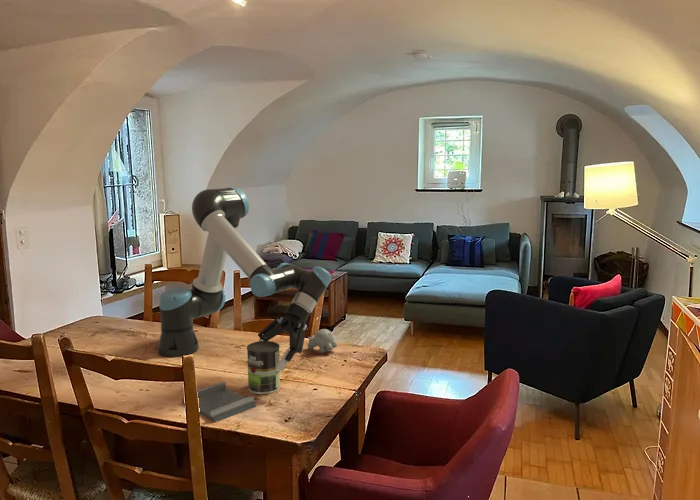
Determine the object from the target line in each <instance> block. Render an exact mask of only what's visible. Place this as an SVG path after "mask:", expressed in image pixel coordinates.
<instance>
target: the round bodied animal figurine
mask: <svg viewBox="0 0 700 500" xmlns="http://www.w3.org/2000/svg"><path fill="white" fill-rule="evenodd" d="M307 338H308V341H306V345H307V346H306V347H307V349H308V350H314V349H315V347H316V348H317V347H318V348H319V353H320V354H324V353H327V352H331V351H332V350H334V349H335V348H337V346H338V343H337V341H336V340H335V338H334V335H333V333H332V331H331V330H329V329H327V328H321V329H319V330H317V332H316V333H315V335H314V334H311V337H310V336H307Z"/></svg>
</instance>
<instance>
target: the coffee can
mask: <svg viewBox="0 0 700 500" xmlns="http://www.w3.org/2000/svg"><path fill="white" fill-rule="evenodd" d="M280 347H281V346H280V343H277V342H275V341H270V340H268V341H259V340H258V341H255V342H252V343H249V344H248V345H247V346H246V351H247V377H248V378H247V382H248V385H247V386H248V391H249V392H250V393H251V394H255V395H268V394H274V393H275V392H278V391H279V389H280V388H281V384H280V382H281V381H280V379H281V377H280V371H281V370H280V369H278V368H277V367H276V366H277V364H278V363H279V361H280Z"/></svg>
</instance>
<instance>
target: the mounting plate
mask: <svg viewBox="0 0 700 500" xmlns="http://www.w3.org/2000/svg"><path fill="white" fill-rule="evenodd" d="M196 391H197V392H198V398H199V408H200V413H199V414H200V415H202V416H204V417H205V416H206V417H205V418H207V419H208V418H209V420H210V419H211V420H210V421H212V422H213V421H214V423H216V421H217V422H220V421H222V420H224V419H227V418H230V417H231V416H235V415H237V414H240V413H243V412H245V411H247V410H250V409H253V408H255V407H256V405H257V404H256V402H255V400H254V399H255V397H254V396H253V395H251V396H247V397H246V396H243V395H242V394H240V393H238V392H236V391H234V390H232V389H230V388H228V387H226V382H225V381H221V382H217V383H215V384H212V385H209V386H206V387H203V388H200V389H198V390H196ZM184 395H185V394H183V398H182V399H181V400H182V403H183V404H184Z"/></svg>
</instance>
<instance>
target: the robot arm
mask: <svg viewBox="0 0 700 500" xmlns="http://www.w3.org/2000/svg"><path fill="white" fill-rule="evenodd" d="M249 209H250V203H249V199H248V196H247V194H246V193H245V192H244V191H243V190H241V189H240V188H237V187H224V188H210V189H203V190H201V191H200V192H198V194H196V195H195V197H194V198H193V201H192V204H191V211H192V216H193V218H194V220H195V222H196V224H197V225H198V226H199V228H201V230H202V231H203V232H208V233H207V237H206V243H205V246H204V250H203V254H202V259H201V263H200V266H199V267H200V268H199V271H198V272H199V273H198V277H196V278H194V279H193V281H192V284H191V288H189V287H185V286H184V287H183V286H182V287H174V288H170V289H167V290H165V291H163V292H162V293H161V295H160V296H159V304H158V307H159V314H160V316H159V317H160V327H161V328H160V329H161V330H160V331H161V332H160V336H159V339H158V343H157V353H158V355H160V356H164V357H171V358H173V357H182V355H184V356H187V355H186V354H188V355H190V354H194V353H196V352H197V351H198V350H199V348H200V347H199V340H198V338H197V335H196V334H195V330H194V321H193V320H196V319H199V318H202V317H206V316H208V315H212V314H215V313H217V312H219V311H220V310H221V309H222V308H223V307H224V305H225V303H226V294H225V290H224V287H223V284H222V283H221V279H222V276H223V272H224V271H223V270H224V266H225V263H226V259H227V255H228V256H229V257H230V258H231V259H232V261H234V263H235V264H236V265H237V266H238V268H239V269H240V270H242V272H243V274H245V275H246V277H247V278H248V279H249V288H250V289H251V291H250V292H251V293H252V294H253V295H254V296H255V297H259V298H263V297H268V296H269V297H270V296H272V295H273V294H277V293H279V292H283V291H287V290H289V289H294V290H297V291H298V292H297V293H296V294H295V296H294V297H293V299H292V301H291V303H290V304H289V305H288V307H287V309H286V310H285V316H284V317H282V316H281V315H280V314H277V316H276V317H275V318H274V319H273V320H272V321H271V322H270V323H269V324H268V325H267V326H265V327H264V328H263V329H262V330H260V331H259V332H258V333H257V336H258V337H259V340H258V342H259V341H270V340H271V339H273V338H275V337H277V336H278V335H280V334H283V333H285V334H288V335H289V347H288V348H286V350H285V352H284V353H283V355H282V357H281V358H280V359H279V363H278V364H277V366H276V367H277V368H278V369H279V370H280V371H281V372H283V371H284V370H285V369H286V367H287V365H288V363H289V362H291V360H292V359H293V358H294V355H296V354H301V353H302V352H303V348H304V342H305V338H306V333H307V331H308V329H309V327H308V325H307V324H306V322H307V320H308V319H309V317H310V314H312V312H313V310H314V309H315V308H316V306H317V304H318V302H319V301H320V299H321V297H322V296H323V295H324V293H325V292H326V290H327V289H328V286H329V285H330V283H331V280H332V275H331V273H330V272H329V271H328V270H327V269H325V268H324V267H321V266H314V267H313V268H312V269H311V270H308V269H307V270H306V269H304V268H301V267H300V266H297V265H294V264H292V263H288V262H282V263H279V265H277V267H276V268H275V269H274V270H273V269H272V268H271V267H270V266H269V265H268V264H267V263H266V261H264V259H263V258H262V257H261V256H260V255H259V254H258V253H257V252H256V251H255V249H254V248H252V246H251V245H250V244H249V242H247V241H246V239H245V238H244V237H243V236H242V235H241V234H240V232H239V231H238V230H237V228H238V227H239V224H240V220H241V219H243V218H245V217H246V216H247V215H248V213H249V211H250V210H249Z"/></svg>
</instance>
